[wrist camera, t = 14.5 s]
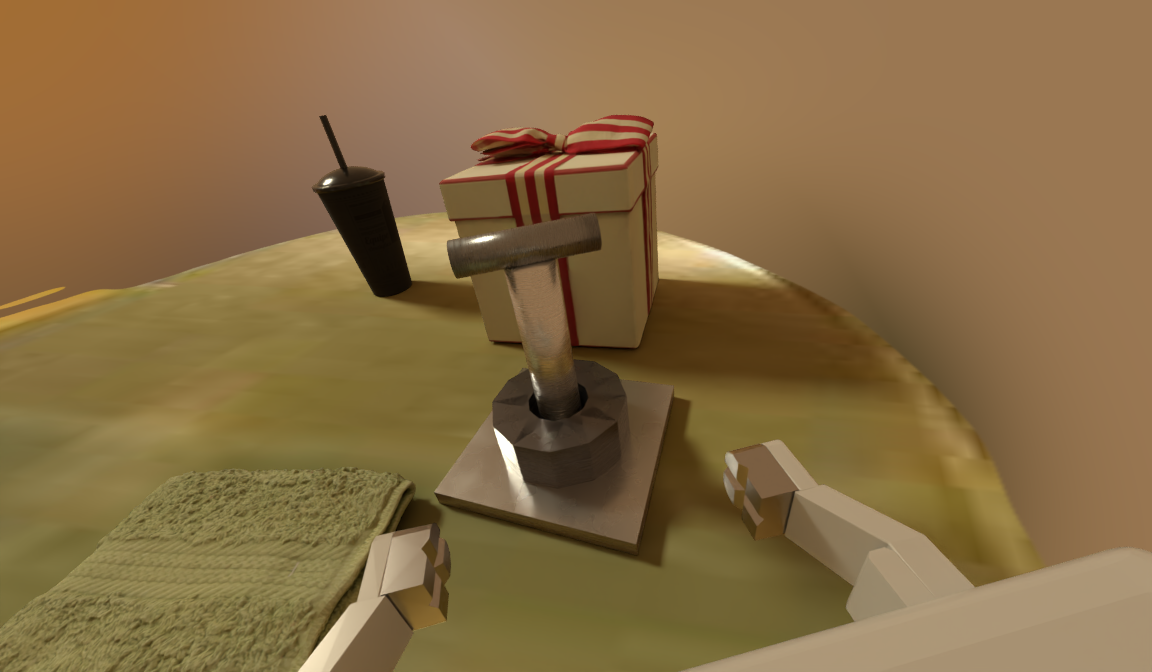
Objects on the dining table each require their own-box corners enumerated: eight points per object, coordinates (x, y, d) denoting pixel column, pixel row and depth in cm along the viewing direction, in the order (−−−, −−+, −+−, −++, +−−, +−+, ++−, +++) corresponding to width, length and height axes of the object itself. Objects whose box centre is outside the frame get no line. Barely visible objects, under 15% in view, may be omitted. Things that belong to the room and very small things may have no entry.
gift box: (662, 263, 50) (658, 98, 40) (655, 353, 35) (647, 124, 25) (527, 268, 54) (496, 120, 44) (469, 352, 39) (404, 154, 29)
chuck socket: (637, 555, 21) (632, 505, 18) (439, 502, 25) (416, 457, 23) (674, 396, 30) (673, 351, 28) (525, 377, 34) (514, 337, 32)
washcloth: (301, 779, 16) (255, 754, 14) (-52, 738, 18) (-128, 712, 17) (433, 485, 27) (416, 450, 25) (199, 486, 29) (169, 455, 28)
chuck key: (613, 408, 28) (589, 206, 21) (623, 436, 26) (601, 221, 19) (511, 432, 28) (449, 233, 20) (513, 462, 25) (444, 251, 18)
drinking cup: (412, 270, 58) (352, 110, 48) (431, 285, 53) (368, 108, 42) (356, 290, 55) (278, 122, 44) (370, 308, 49) (285, 122, 39)
